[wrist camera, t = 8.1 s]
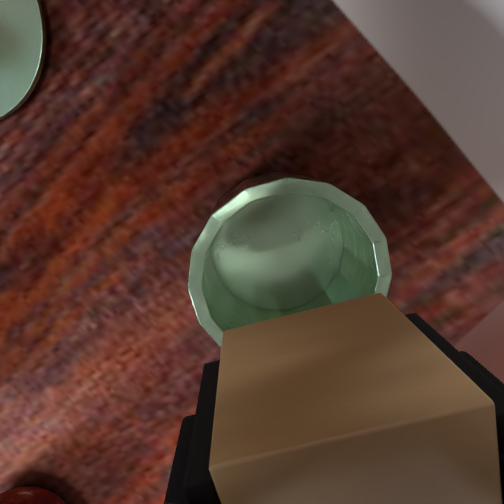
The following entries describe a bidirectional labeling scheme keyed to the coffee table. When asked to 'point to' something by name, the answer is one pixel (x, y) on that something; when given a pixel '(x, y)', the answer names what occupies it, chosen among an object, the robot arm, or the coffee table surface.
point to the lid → (20, 51)
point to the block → (349, 414)
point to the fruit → (29, 496)
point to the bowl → (283, 252)
